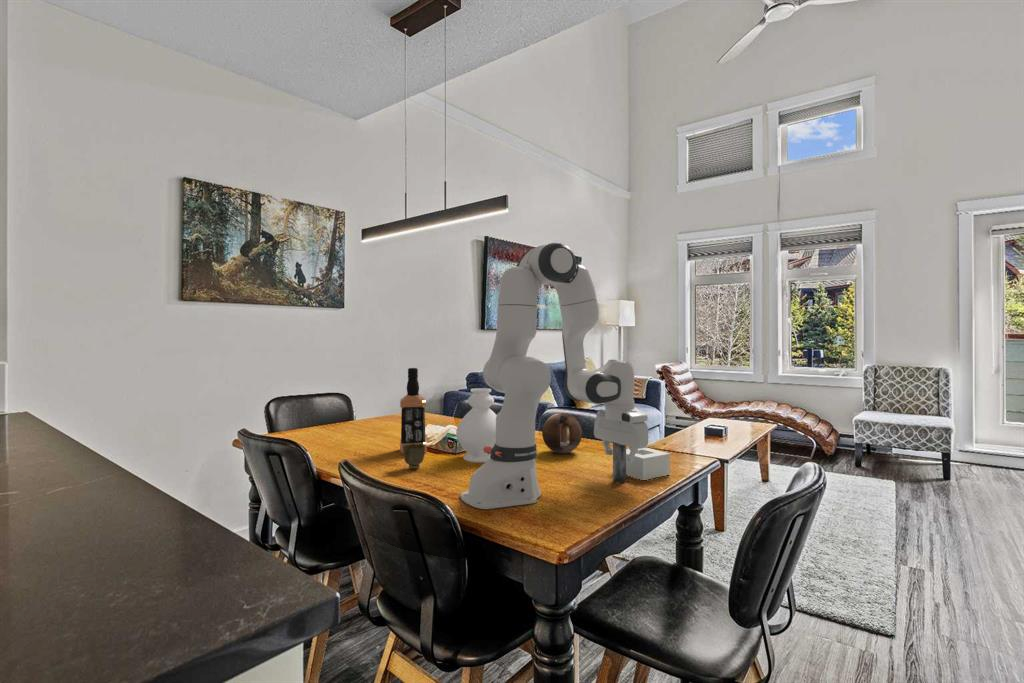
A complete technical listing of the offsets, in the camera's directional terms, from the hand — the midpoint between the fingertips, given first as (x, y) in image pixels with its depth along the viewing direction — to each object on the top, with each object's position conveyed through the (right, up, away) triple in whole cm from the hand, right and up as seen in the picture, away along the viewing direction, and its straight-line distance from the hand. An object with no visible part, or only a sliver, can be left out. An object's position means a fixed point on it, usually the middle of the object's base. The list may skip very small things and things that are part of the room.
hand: (619, 457), depth 158 cm
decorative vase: (-44, -7, +29) cm, 53 cm away
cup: (-66, -7, +14) cm, 68 cm away
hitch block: (+9, -7, +8) cm, 14 cm away
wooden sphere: (-14, -7, +37) cm, 40 cm away
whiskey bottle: (-71, -7, +39) cm, 81 cm away
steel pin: (0, -7, 0) cm, 7 cm away
